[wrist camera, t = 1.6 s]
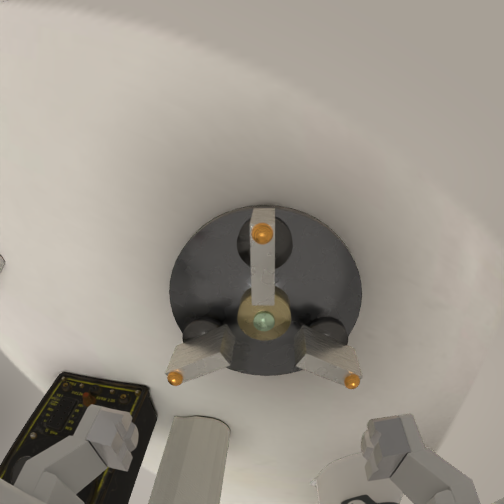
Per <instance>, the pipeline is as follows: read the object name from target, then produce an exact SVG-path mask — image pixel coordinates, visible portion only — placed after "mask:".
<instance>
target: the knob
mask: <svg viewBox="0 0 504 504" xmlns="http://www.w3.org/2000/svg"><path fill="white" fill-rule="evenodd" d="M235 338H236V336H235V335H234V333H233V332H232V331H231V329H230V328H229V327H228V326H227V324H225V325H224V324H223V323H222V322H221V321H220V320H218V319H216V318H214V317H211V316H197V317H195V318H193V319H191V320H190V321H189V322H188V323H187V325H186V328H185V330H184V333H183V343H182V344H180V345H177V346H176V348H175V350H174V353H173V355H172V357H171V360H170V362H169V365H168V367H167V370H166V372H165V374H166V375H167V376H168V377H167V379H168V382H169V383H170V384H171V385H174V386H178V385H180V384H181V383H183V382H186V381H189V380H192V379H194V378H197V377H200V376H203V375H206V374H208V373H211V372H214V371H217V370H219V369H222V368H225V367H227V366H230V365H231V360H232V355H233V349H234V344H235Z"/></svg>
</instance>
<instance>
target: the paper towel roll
mask: <svg viewBox="0 0 504 504" xmlns="http://www.w3.org/2000/svg"><path fill="white" fill-rule="evenodd" d="M229 437H230V430H229V428H228V427H227V425H225V424H224V423H223V422H221V421H219V420H216V419H213V418H206V417H198V416H193V417H176V416H175V418H174V421H173V424H172V427H171V430H170V434H169V437H168V440H167V443H166V446H165V450H164V453H163V456H162V460H161V463H160V466H159V469H158V473H157V476H156V479H155V483H154V486H153V490H152V493H151V496H150V500H149V503H148V504H219V503H220V497H221V490H222V484H223V477H224V470H225V464H226V457H227V451H228V444H229Z"/></svg>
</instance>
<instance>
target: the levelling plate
mask: <svg viewBox="0 0 504 504" xmlns="http://www.w3.org/2000/svg"><path fill="white" fill-rule="evenodd" d="M254 208H275V216H276V217H278V218H280V219H281V220H283V221H284V222H285V223H286V224H287V226H288V227H289V229H290V231H291V235H292V241H293V249H292V253H291V255H290V257H289V259H288V260H287V261H286V262H285V263H284V264H283V265H282V266H280V267H279V268H276V269H275V299H274V306H269V305H252V292H251V267H250V266H248V265H247V264H246V263H245V262H244V261H243V260H242V259H241V257H240V256H239V253H238V250H237V238H238V235H239V232H240V229H241V227H242V226H243V224H244V223H245V222H246V221H247V220H248V219H250V218H251V217H252V213H253V209H254ZM169 294H170V304H171V308H172V312H173V315H174V317H175V320H176V322H177V324H178V326H179V328H180V330H181V332H182V333H184V330H185V328H186V325H187V323H188V322H189V321H190V320H191V319H193V318H195V317H197V316H211V317H214V318H216V319H218V320H220V321H221V322H222V323H223V324H224V325H225V324H227V326H228V327H229V328H230V329H231V331H232V332H233V333H234V335H235V336H236V338H235V344H234V349H233V355H232V360H231V365H230V366H227V367H226V368H228V369H231V370H234V371H238V372H241V373H246V374H252V375H263V376H269V375H282V374H288V373H293V372H297V371H300V370H303V369H301V368H299V367H297V366H295V350H294V336H295V334H296V333H297V332H298V331H299V329H300V328H301V327H302V325H305V326H306V325H307V324H308V323H309V322H310V321H312V320H314V319H316V318H320V317H333V318H336V319H338V320H339V321H341V322H342V323H343V325H344V327H345V329H346V333H347V336H349V334H350V332H351V331H352V329H353V327H354V325H355V323H356V320H357V318H358V315H359V311H360V307H361V299H362V288H361V280H360V276H359V272H358V269H357V266H356V264H355V261H354V259H353V258H352V256H351V254H350V252H349V251H348V249H347V247H346V246H345V244H344V243H343V241H342V240H341V239H340V238H339V237H338V235H337V234H336V233H335V232H333V231H332V230H331V229H330V228H329V227H328V226H327V225H325V224H324V223H322V222H321V221H319V220H318V219H316V218H314V217H312V216H310V215H308V214H306V213H304V212H301V211H298V210H295V209H292V208H287V207H282V206H273V205H257V206H248V207H243V208H238V209H235V210H232V211H229V212H226V213H224V214H222V215H220V216H218V217H216V218H214V219H212V220H211V221H209V222H208V223H207V224H205V225H204V226H202V227H201V228H200V229H199V230H198V231H197V232H196V233H195V234H194V235H193V236H192V237H191V239H190V240H189V241H188V243H187V244H186V245H185V247H184V248H183V249H182V251H181V253H180V255H179V256H178V258H177V260H176V262H175V265H174V268H173V270H172V274H171V279H170V290H169Z"/></svg>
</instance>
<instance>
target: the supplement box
mask: <svg viewBox="0 0 504 504" xmlns="http://www.w3.org/2000/svg"><path fill="white" fill-rule="evenodd" d="M4 264H5V261H4V260H3V258H2V257H1V256H0V272H1V270H2V268H3V266H4Z"/></svg>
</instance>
